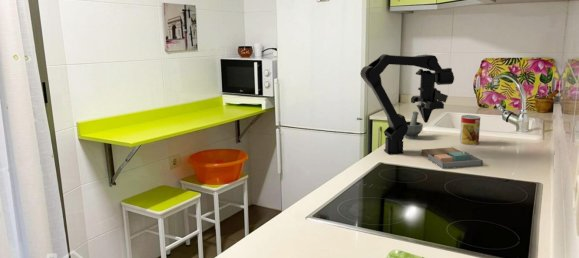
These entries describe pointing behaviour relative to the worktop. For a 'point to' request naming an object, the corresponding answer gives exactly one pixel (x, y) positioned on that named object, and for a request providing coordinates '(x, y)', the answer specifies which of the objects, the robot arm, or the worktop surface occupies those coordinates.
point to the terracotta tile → (444, 158)
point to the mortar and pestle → (413, 127)
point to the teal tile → (458, 156)
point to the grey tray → (458, 162)
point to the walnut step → (438, 151)
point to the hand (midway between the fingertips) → (425, 122)
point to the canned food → (470, 129)
